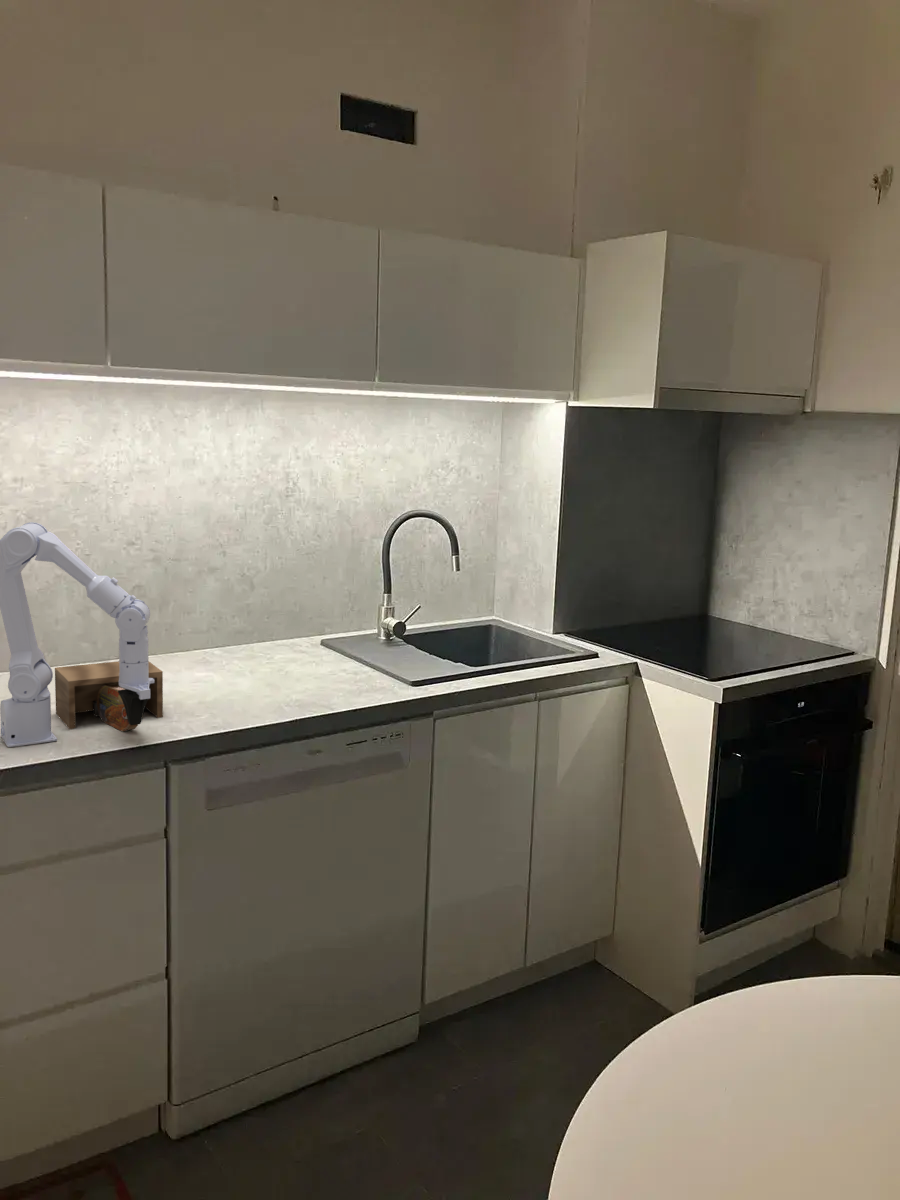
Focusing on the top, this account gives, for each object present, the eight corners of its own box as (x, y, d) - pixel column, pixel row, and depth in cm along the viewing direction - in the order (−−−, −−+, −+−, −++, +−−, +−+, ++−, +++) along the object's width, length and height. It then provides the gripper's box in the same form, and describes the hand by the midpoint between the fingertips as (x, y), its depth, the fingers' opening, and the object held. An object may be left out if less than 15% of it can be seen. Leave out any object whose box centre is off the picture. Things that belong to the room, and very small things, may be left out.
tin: (96, 718, 222) (95, 681, 221) (109, 715, 224) (108, 679, 223) (129, 736, 212) (128, 697, 210) (143, 733, 214) (142, 695, 212)
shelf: (69, 729, 214) (68, 681, 212) (55, 713, 224) (54, 667, 222) (162, 717, 225) (162, 671, 223) (145, 702, 235) (145, 658, 233)
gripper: (165, 666, 203) (165, 731, 205) (142, 650, 214) (142, 711, 217) (129, 670, 199) (130, 736, 201) (108, 653, 210) (109, 716, 213)
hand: (134, 723), depth 209 cm, fingers closed
